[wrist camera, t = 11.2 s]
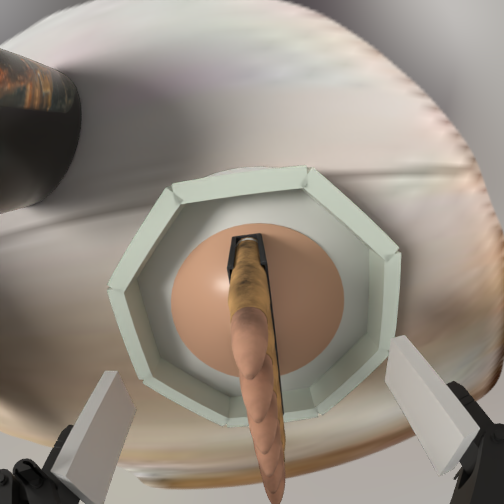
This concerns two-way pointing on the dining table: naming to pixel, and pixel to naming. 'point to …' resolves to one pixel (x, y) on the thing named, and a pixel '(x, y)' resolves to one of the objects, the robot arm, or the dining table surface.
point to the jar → (34, 130)
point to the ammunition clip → (257, 356)
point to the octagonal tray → (281, 285)
